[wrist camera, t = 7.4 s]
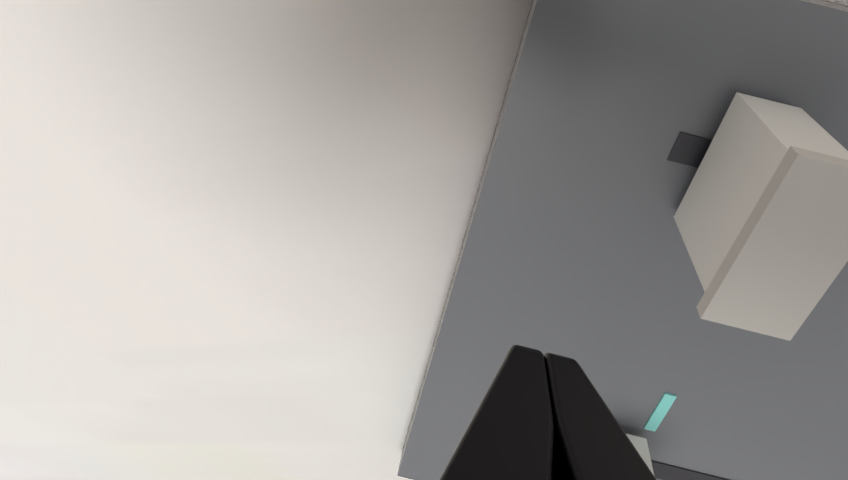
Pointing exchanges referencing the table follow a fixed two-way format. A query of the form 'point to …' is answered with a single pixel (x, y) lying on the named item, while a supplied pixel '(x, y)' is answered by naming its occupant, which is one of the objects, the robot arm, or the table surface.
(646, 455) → the fader
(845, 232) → the fader
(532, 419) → the robot arm
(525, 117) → the console
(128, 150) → the table surface
